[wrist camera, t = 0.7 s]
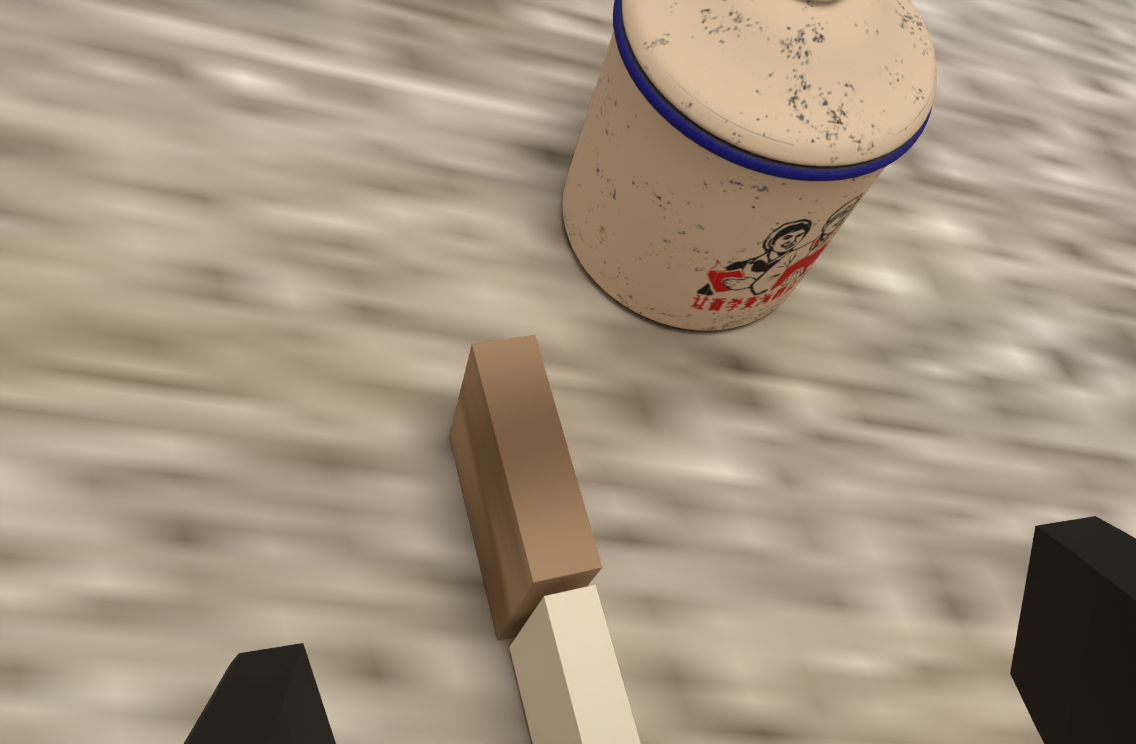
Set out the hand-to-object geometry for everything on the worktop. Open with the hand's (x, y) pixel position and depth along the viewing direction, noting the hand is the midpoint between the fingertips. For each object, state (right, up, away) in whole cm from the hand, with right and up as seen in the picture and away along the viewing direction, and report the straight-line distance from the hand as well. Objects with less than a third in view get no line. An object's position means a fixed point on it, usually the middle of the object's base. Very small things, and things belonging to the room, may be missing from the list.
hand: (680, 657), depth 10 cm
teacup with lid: (+4, +9, +25) cm, 27 cm away
